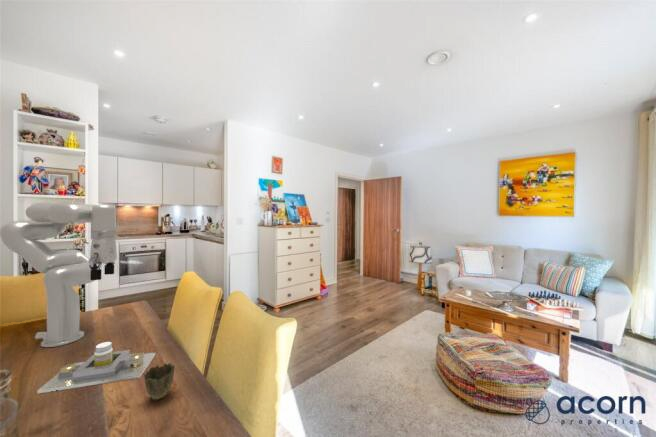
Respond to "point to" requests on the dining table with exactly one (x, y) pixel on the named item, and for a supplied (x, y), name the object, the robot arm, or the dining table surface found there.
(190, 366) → the dining table surface
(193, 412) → the dining table surface
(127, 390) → the dining table surface
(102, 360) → the supplement bottle
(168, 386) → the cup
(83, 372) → the gray plate
